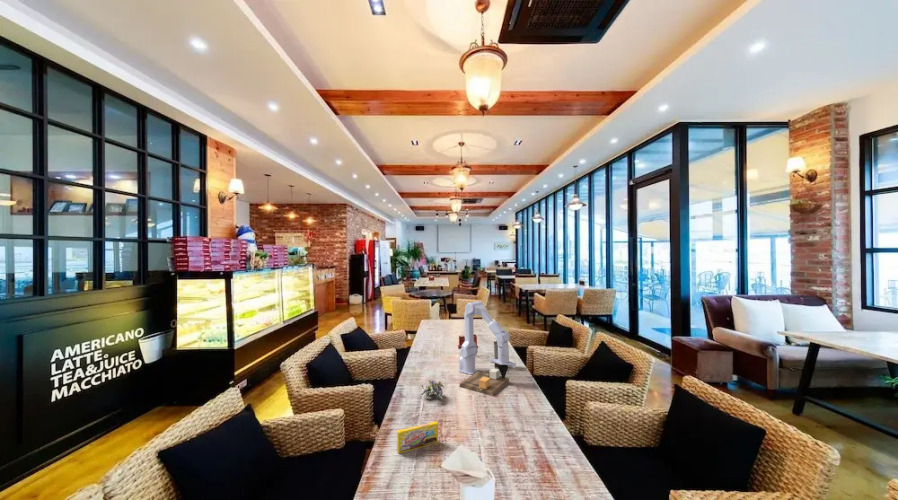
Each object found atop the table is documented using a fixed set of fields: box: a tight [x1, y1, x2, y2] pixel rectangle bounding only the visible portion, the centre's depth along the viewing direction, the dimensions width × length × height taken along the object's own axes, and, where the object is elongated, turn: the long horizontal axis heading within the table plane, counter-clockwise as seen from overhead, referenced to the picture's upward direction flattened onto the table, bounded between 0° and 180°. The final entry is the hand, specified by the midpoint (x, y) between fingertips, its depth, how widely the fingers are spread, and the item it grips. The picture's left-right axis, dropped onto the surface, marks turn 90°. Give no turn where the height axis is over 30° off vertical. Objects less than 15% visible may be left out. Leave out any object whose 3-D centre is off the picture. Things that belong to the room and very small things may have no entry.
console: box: [459, 370, 510, 397], centre depth 182 cm, size 20×23×2 cm
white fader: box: [489, 367, 501, 379], centre depth 186 cm, size 4×5×4 cm
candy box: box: [396, 421, 439, 455], centre depth 126 cm, size 16×2×8 cm, turn 114°
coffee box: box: [493, 340, 510, 370], centre depth 207 cm, size 9×6×16 cm
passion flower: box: [421, 379, 444, 401], centre depth 167 cm, size 11×11×12 cm
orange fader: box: [479, 377, 490, 389], centre depth 174 cm, size 4×5×4 cm
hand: (503, 377), depth 183 cm, fingers closed
